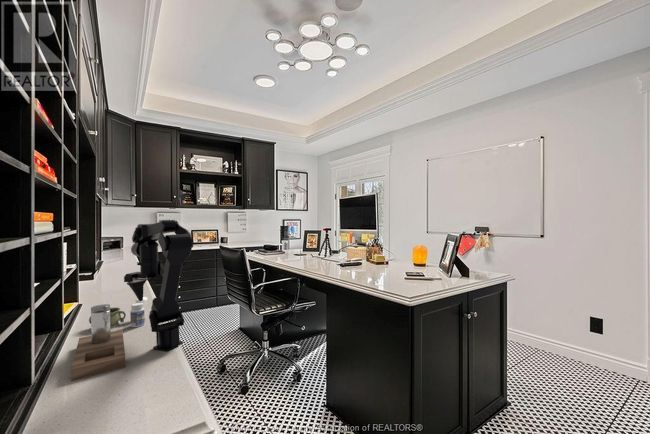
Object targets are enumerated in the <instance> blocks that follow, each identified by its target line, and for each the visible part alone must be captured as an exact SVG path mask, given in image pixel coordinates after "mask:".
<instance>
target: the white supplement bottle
mask: <svg viewBox="0 0 650 434" xmlns="http://www.w3.org/2000/svg"><path fill="white" fill-rule="evenodd" d="M148 301H149V300H148V297H147V296H143V300H142V301H139V300H138V298H137V297H136V298H135V300H134V304H136V303H143V308H144V316H145V320H146V319H147V316H148V315H147V312H148V311H147V309H148Z"/></svg>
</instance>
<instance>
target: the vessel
mask: <svg viewBox="0 0 650 434" xmlns="http://www.w3.org/2000/svg"><path fill="white" fill-rule="evenodd" d="M121 314H123V317H122V315H121ZM126 315H127V314H126V311H124V310H121V308H120V307H118V306H116V307H115V306H113V307H110V330H111V329H113V328H116V327H119V326H120V324H121V323H124V322H125V319H126ZM88 322H89V324H90V325H91V315H90V317H89V318H88Z"/></svg>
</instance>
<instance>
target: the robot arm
mask: <svg viewBox="0 0 650 434" xmlns="http://www.w3.org/2000/svg"><path fill="white" fill-rule="evenodd" d="M169 233H174V234H169ZM131 241H132V243H133V244H132V246H131V247H130V250H131V253H132V255H134V256H136V257H139V261H137V262H136V265H137V266H140V267H139V268H140V269H139V271H134V272H130V273H125V275H124V276H123V282H124V283H126V285H127V286H129V288H130V289H131V290H132V292H133V293H134V295H135V296H136V298H138V300H139V301H142V300H143V297H144V285H145V283H146V282H147V281H152V282H153V283H154V285H153V288H154V291H155V295H156V296H155V297H154V298H153V299H152V305H151V308H150V309H151V310H150V311H149V315H148V318H149V319H148V320H149V323H150V328H151V330H150V331H151V332H152V333H155V334H156V335H155V336H156V339H155V340H156V345H155V346H153V347H152V349H153V350H159V351H165V352H170V351H172V350H174V349H175V348H177V347H179V346H180V345H182V344H184V341H182V340H180V326H184V325H185V324H184V323H185V318H184V315H183V313H182V311H181V307H180V305H179V303H178V302H177V294H178V289H179V284H180V277H181V273H182V269H183V263H185V261H186V260H187V259H188V258H189V257H190V256H191V253H192V249H193V247H194V239H193V237H192V235H191V234H190V232H189V230H188V229H186V228H185V227H183V226H182V225H180V224H179V222H178V221H177V220H176V219H164V220H163V219H162V220H159V221H158V222H155V223H139V224H137V226H136V227H135V229H134V231H133V234H132V237H131ZM159 247H160V248H161V252H162V254H163V255H164V258H165V263H164V264H162V263H163V262H162V260H159Z"/></svg>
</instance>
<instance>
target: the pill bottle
mask: <svg viewBox="0 0 650 434" xmlns="http://www.w3.org/2000/svg"><path fill="white" fill-rule="evenodd" d="M130 308H131V310H130V311H129V312H130V314H129V315H130V327H131V328H138V327H142V326H144V325H145V321H146V319H145V316H144V308H143V303H136V304H135V303H133V304H131V307H130Z"/></svg>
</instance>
